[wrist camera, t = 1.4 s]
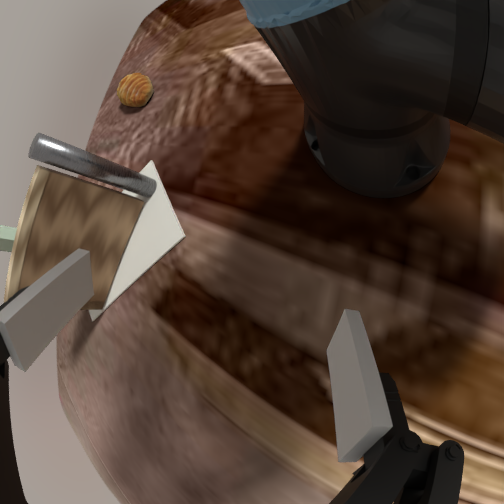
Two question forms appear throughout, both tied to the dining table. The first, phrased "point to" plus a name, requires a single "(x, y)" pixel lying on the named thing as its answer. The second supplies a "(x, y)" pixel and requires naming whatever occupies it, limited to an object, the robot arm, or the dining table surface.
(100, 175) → the hinge post
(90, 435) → the dining table surface
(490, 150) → the dining table surface
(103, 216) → the gate
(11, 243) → the latch post
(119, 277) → the mat
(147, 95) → the pastry
